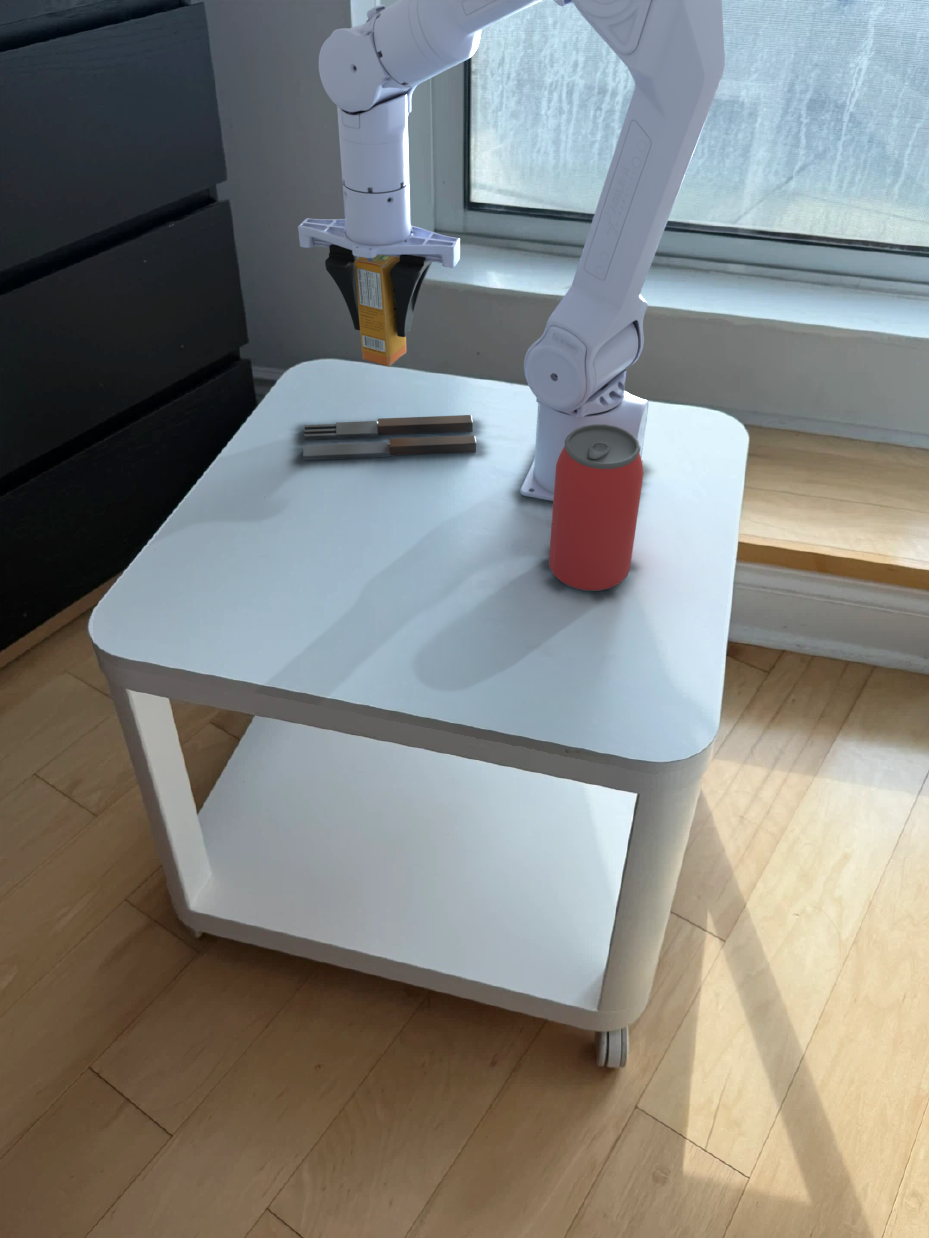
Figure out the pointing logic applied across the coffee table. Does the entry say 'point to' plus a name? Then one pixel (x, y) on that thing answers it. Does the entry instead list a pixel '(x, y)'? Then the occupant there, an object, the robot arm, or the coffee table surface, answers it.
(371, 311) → the supplement box
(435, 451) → the cutlery
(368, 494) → the coffee table surface
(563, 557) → the beer can
